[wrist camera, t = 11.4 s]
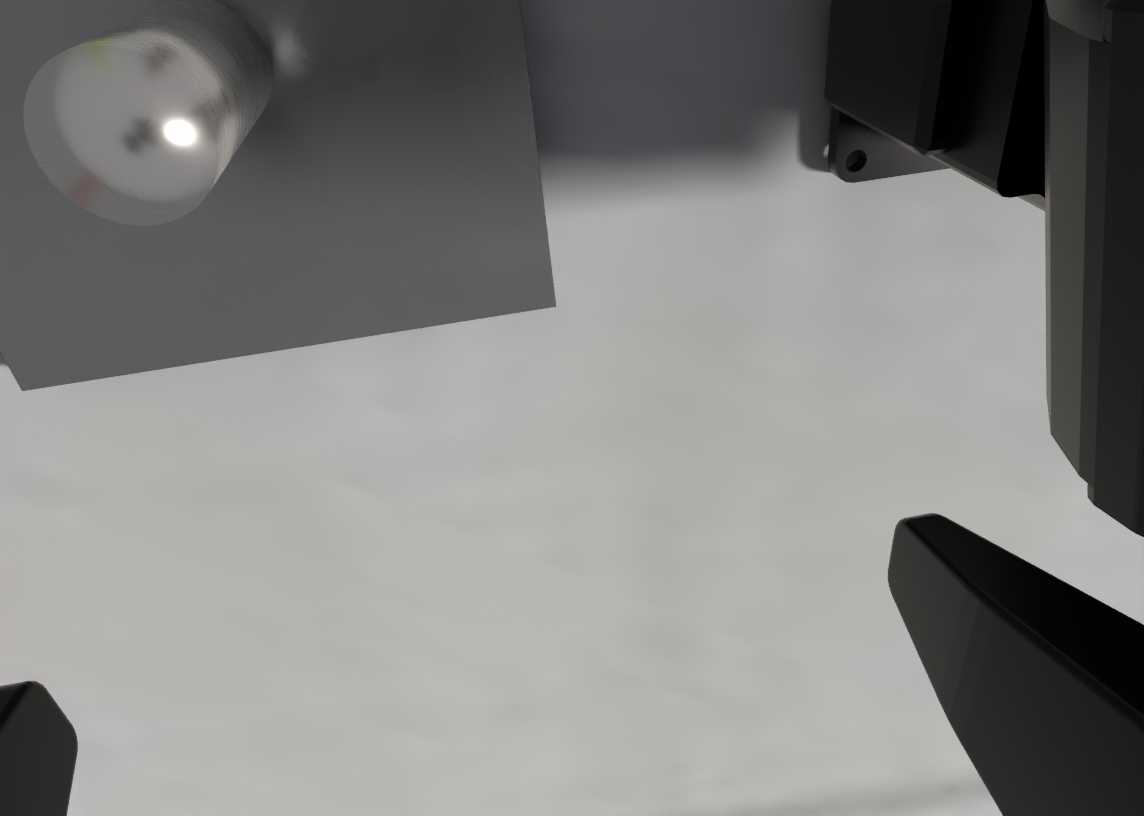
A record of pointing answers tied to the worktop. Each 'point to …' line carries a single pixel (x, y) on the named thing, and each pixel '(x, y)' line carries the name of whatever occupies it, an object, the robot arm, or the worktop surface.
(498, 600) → the worktop surface
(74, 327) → the stake base
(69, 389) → the worktop surface
